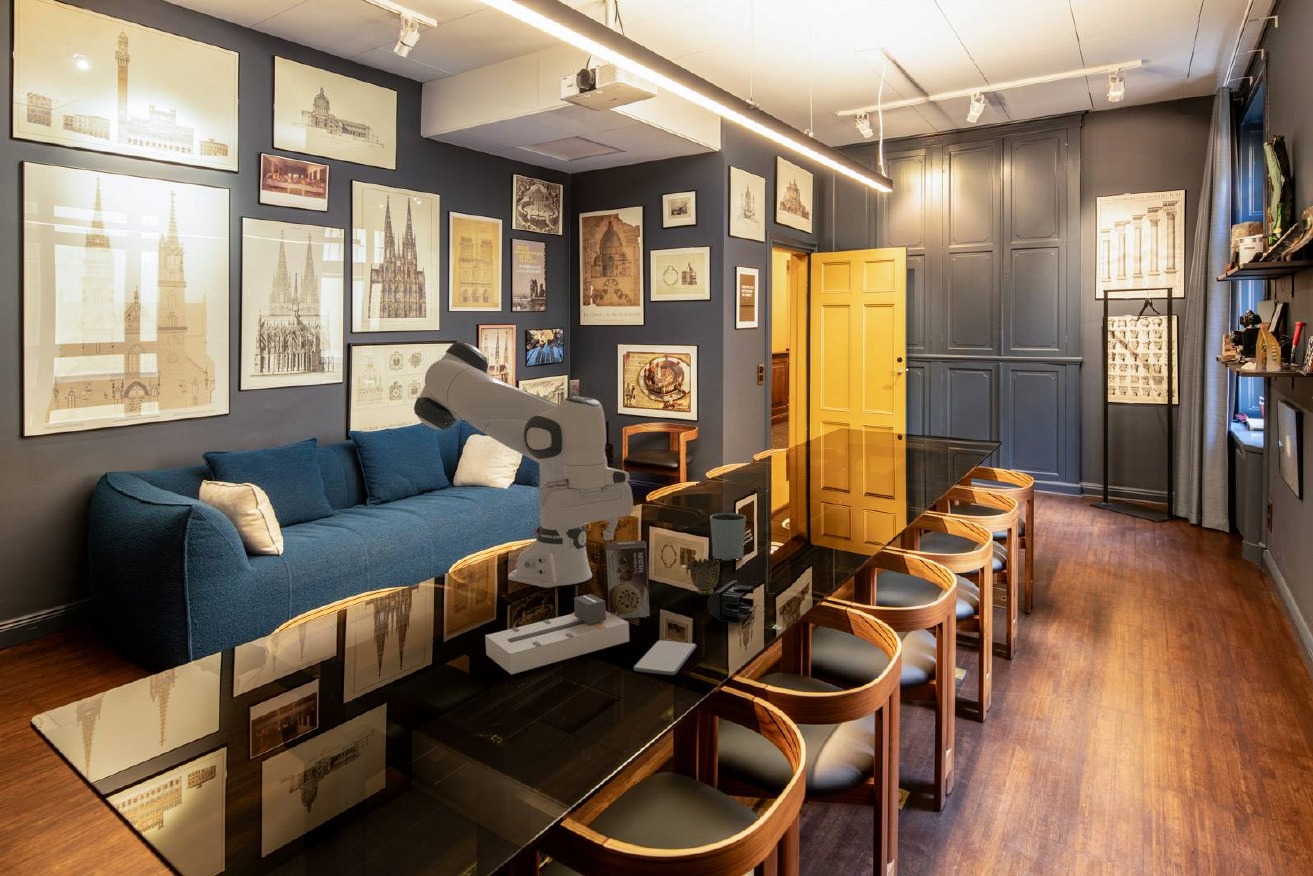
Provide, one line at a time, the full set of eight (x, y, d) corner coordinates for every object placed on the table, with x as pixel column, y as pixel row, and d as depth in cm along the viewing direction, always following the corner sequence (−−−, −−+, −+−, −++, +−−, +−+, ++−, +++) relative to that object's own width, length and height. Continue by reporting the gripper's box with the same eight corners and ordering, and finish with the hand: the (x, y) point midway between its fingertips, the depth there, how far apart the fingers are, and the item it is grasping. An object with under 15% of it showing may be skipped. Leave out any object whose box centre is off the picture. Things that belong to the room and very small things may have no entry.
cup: (718, 599, 180) (717, 566, 179) (688, 598, 182) (687, 565, 181) (722, 589, 187) (721, 558, 186) (692, 589, 189) (691, 557, 188)
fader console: (511, 674, 141) (510, 652, 141) (486, 654, 151) (485, 634, 150) (629, 641, 156) (628, 621, 155) (599, 625, 166) (598, 606, 165)
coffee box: (648, 608, 176) (646, 540, 174) (649, 618, 169) (647, 547, 167) (609, 610, 175) (606, 541, 173) (608, 619, 169) (605, 548, 167)
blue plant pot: (705, 555, 220) (704, 514, 219) (738, 551, 223) (737, 511, 222) (719, 564, 210) (718, 521, 209) (752, 560, 213) (751, 518, 212)
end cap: (725, 607, 175) (725, 578, 174) (754, 611, 172) (754, 582, 171) (707, 620, 166) (706, 590, 166) (737, 625, 163) (736, 594, 162)
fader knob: (589, 624, 153) (588, 604, 153) (574, 616, 158) (573, 597, 158) (606, 619, 156) (605, 600, 155) (591, 612, 161) (590, 593, 160)
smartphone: (697, 643, 152) (674, 672, 138) (697, 648, 152) (674, 677, 138) (658, 639, 155) (631, 667, 141) (658, 644, 155) (632, 672, 141)
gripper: (546, 485, 145) (550, 555, 147) (636, 472, 157) (638, 538, 158) (532, 481, 151) (535, 549, 152) (619, 469, 162) (622, 533, 164)
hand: (588, 543), depth 155 cm, fingers open, 8 cm apart
